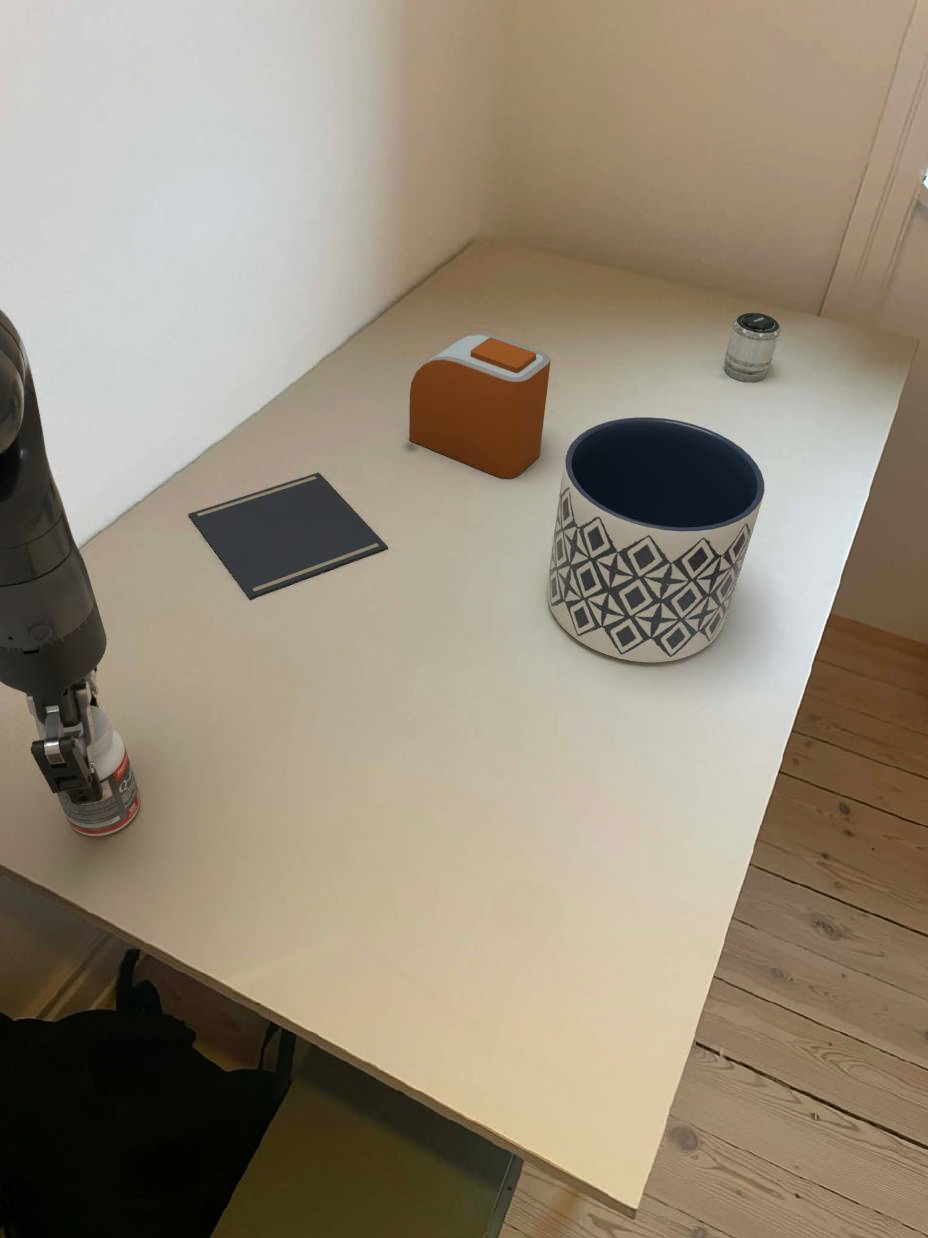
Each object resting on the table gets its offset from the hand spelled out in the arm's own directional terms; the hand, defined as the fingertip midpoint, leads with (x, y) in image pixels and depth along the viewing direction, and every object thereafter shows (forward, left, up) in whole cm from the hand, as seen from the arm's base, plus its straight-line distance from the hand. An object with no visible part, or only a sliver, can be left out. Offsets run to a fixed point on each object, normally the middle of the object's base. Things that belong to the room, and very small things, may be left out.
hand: (89, 765), depth 74 cm
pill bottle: (0, 0, -6) cm, 6 cm away
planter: (+48, +24, -6) cm, 54 cm away
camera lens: (+73, +72, -6) cm, 103 cm away
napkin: (+12, +36, -6) cm, 38 cm away
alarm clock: (+34, +53, -6) cm, 63 cm away
